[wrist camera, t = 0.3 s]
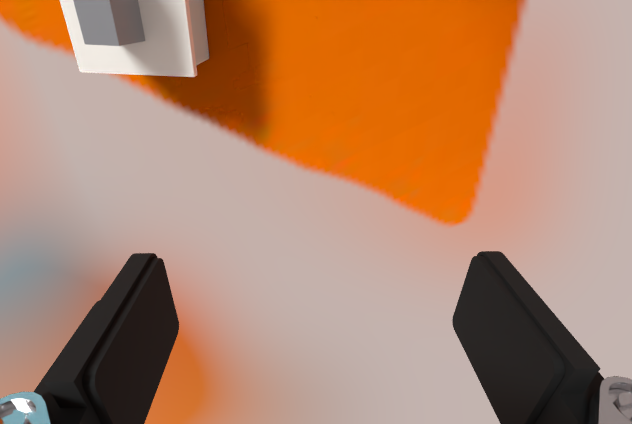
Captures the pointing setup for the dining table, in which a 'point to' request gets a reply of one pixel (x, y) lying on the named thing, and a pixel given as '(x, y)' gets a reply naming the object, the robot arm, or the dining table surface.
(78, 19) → the lid
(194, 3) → the tub
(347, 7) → the dining table surface
